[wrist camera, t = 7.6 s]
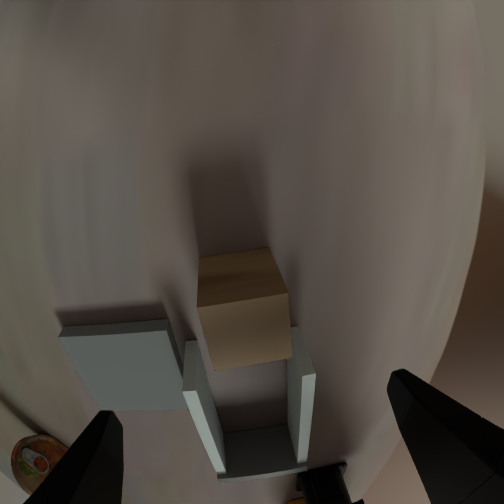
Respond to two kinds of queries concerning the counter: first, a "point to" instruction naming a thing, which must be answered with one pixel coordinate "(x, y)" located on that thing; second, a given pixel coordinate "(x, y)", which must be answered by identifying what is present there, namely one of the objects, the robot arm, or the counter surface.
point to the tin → (35, 460)
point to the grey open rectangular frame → (258, 440)
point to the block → (243, 309)
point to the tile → (127, 364)
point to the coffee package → (297, 501)
